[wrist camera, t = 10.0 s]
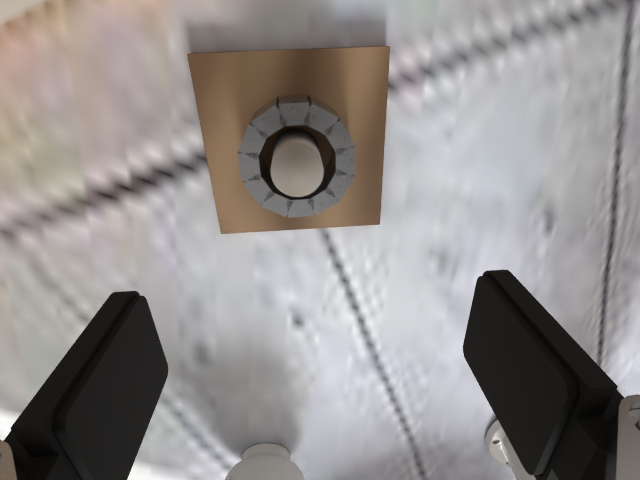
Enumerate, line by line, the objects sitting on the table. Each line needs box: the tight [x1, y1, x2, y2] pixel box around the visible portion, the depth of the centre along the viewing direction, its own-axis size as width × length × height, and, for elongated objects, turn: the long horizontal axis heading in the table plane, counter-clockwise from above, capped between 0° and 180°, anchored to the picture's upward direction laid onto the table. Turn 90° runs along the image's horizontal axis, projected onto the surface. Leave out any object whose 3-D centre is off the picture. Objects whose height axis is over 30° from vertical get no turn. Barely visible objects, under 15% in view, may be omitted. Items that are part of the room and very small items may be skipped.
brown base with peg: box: [187, 46, 390, 234], centre depth 23 cm, size 12×12×6 cm
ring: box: [237, 95, 356, 218], centre depth 23 cm, size 7×7×3 cm
